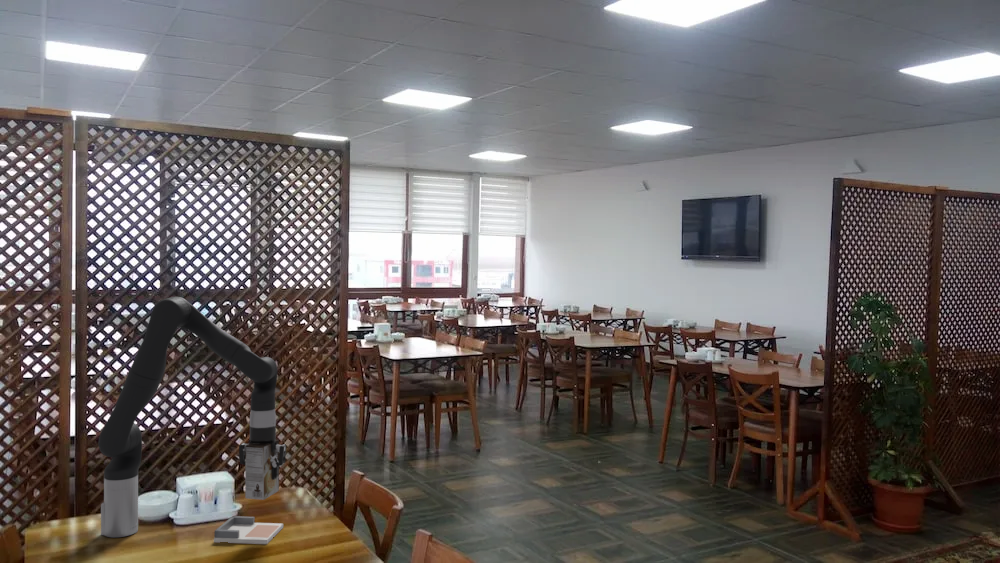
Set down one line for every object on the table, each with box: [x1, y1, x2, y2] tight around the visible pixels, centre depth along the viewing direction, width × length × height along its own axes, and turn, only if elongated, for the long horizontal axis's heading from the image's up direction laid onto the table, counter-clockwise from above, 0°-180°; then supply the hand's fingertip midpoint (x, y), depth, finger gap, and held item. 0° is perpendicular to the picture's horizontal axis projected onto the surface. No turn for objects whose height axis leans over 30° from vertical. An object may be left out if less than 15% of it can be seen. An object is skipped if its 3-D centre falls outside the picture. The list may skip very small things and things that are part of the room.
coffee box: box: [244, 439, 280, 501], centre depth 228 cm, size 9×6×16 cm
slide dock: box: [213, 515, 284, 545], centre depth 229 cm, size 16×14×3 cm
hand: (262, 478), depth 228 cm, fingers closed on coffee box, 7 cm apart
